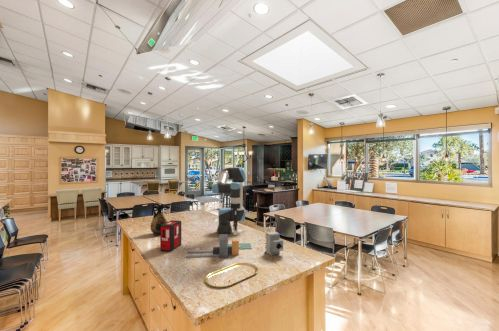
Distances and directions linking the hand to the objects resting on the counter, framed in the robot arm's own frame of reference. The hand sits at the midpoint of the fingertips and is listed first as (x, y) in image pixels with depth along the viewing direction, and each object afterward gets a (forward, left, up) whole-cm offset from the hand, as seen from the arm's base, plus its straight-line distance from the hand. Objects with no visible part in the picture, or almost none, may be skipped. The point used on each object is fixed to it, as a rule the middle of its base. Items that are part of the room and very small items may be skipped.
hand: (235, 232), depth 172 cm
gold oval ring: (+34, -3, -16) cm, 38 cm away
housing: (0, -21, -16) cm, 26 cm away
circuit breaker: (+4, +29, -16) cm, 34 cm away
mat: (-14, +3, -16) cm, 21 cm away
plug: (0, -6, -16) cm, 17 cm away
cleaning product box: (-16, -51, -16) cm, 55 cm away
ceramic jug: (-54, -72, -16) cm, 91 cm away
